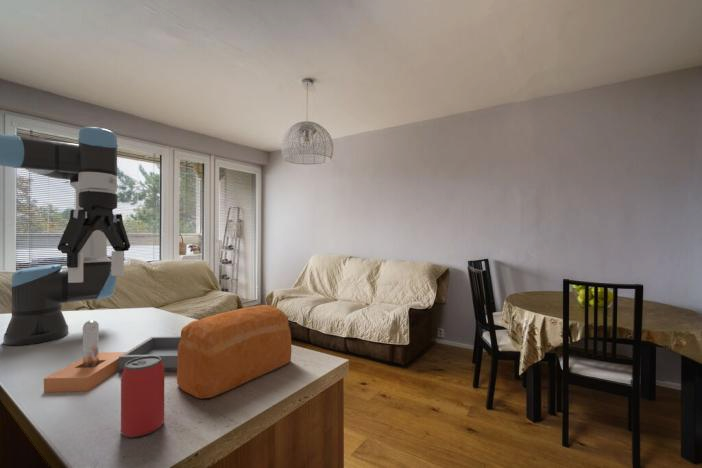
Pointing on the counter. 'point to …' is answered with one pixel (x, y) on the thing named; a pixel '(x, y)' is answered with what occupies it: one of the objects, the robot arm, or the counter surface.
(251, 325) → the bread
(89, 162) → the robot arm
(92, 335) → the pin
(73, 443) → the counter surface
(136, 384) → the beer can
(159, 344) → the tray
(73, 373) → the orange block with hole
